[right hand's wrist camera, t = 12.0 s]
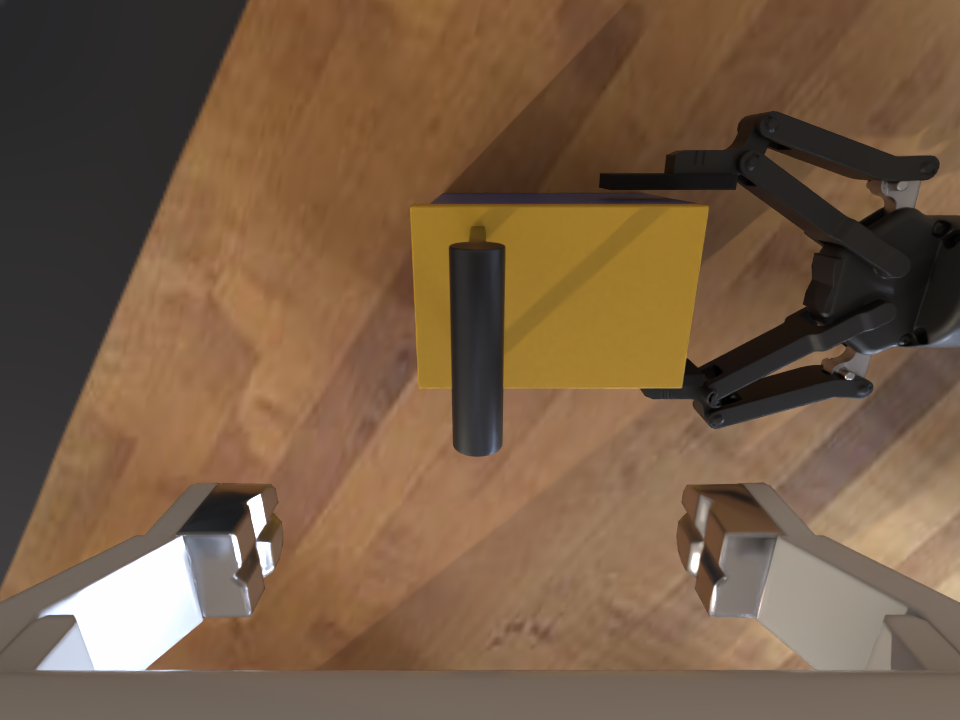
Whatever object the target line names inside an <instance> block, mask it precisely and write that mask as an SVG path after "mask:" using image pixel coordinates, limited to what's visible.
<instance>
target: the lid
mask: <svg viewBox="0 0 960 720" xmlns="http://www.w3.org/2000/svg"><path fill="white" fill-rule="evenodd" d="M708 211H709V206H707V205H702V204H414V205H412V206H410V218H411V240H412V261H413V283H414V304H415V326H416V347H417V368H418V387H419V388H452V421H453V446H454V448H455V449H456V450H457V451H458V452H460V453H462V454H464V455H468V456H476V457H479V456H487V455H491V454H493V453H496V452H497V451H498V450H499V449H500V448H501V446H502V435H503V388H682V384H683V378H684V371H685V364H686V358H687V351H688V344H689V338H690V331H691V324H692V318H693V311H694V304H695V298H696V291H697V284H698V278H699V271H700V265H701V258H702V251H703V245H704V238H705V231H706V225H707V218H708Z"/></svg>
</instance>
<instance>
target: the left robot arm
mask: <svg viewBox="0 0 960 720" xmlns="http://www.w3.org/2000/svg"><path fill="white" fill-rule="evenodd" d="M737 130H738V134H737V136H736V138H735V140H734V142H733V143H732V145H731V146H730V147H728V148H727V149H725V150H683V151H675V152H672V153H670V154H667V155H666V163H665V171H664V173H600V183H599V187H600V188H604V189H609V190H736V185H737V183H739V184H740V185H741V186H743V187H744V188H746V189H747V190H748V191H750V192H751V193H753V194H754V195H755V196H757V197H758V198H759V199H761V200H762V201H764V202H765V203H766V204H768V205H769V206H770V207H772V208H773V209H775V210H776V211H777V212H779V213H780V214H782V215H783V216H784V217H786V218H787V219H788V220H790V221H791V222H793V223H794V224H795V225H797V226H798V227H799V228H801V229H802V230H803V231H804V233H805V234H806V235H807V236H808V237H810V238H811V239H813V240H814V241H815V242H817V243H818V244H819V245H821V246H822V247H823V248H822V249H821V250H820V252H819V253H814V258H813V262H812V280H811V282H810V284H809V286H808V288H807V290H806V293H805V297H804V302H803V305H806V306H807V307H805V308H803V309H801V310H799V311H797V312H795V313H793V314H792V315H790V316H788V317H787V318H786V319H785V322H784V323H783V324H781V325H779V326H777V327H775V328H773V329H772V330H770V331H768V332H766V333H764V334H762V335H760V336H758V337H756V338H754V339H752V340H750V341H749V342H747V343H745V344H743V345H741V346H739V347H737V348H735V349H733V350H731V351H729V352H727V353H726V354H724V355H722V356H720V357H718V358H716V359H714V360H712V361H710V362H708V363H706V364H704V365H703V366H701V367H699V368H697V367H696V366H695V365H694V364H693V363H692V362H691V361H690V360H689V359H688V358H686V364H685V371H684V378H683V384H682V388H640V389H641V391H642V392H643V394H644V395H645V396H646V397H649V398H652V399H694V401H693V407H694V409H695V410H696V411H697V412H698V414H699V415H700V416H701V417H702V418H703V419H704V420H705V422H706V423H707V424H708V425H709V426H710V427H711V428H714V429H718V428H722V427H726V426H730V425H733V424H737V423H741V422H744V421H748V420H752V419H756V418H759V417H763V416H767V415H770V414H774V413H778V412H781V411H785V410H789V409H793V408H796V407H800V406H804V405H807V404H811V403H815V402H818V401H822V400H826V399H830V398H857V399H861V398H865V397H867V396H869V395H870V394H871V393H872V391H873V384H872V383H871V382H870V381H869V380H867V379H865V378H864V377H865V374H866V371H867V368H868V365H869V362H870V359H871V356H872V355H873V354H877V353H879V352H882V351H884V350H886V349H889V348H892V347H960V215H924V214H923V213H921V212H920V211H919V210H917V209H914V208H915V204H916V200H917V196H918V191H919V187H920V183H921V180H928V179H930V178H932V177H933V176H934V175H935V174H936V173H937V171H938V169H939V160H938V159H937V158H936V157H935V156H894V155H891V154H888V153H886V152H883V151H880V150H878V149H875V148H872V147H870V146H867V145H864V144H862V143H859V142H857V141H854V140H851V139H849V138H846V137H843V136H841V135H838V134H835V133H833V132H830V131H827V130H825V129H822V128H819V127H817V126H814V125H811V124H809V123H806V122H804V121H801V120H798V119H796V118H793V117H790V116H788V115H785V114H782V113H780V112H776V111H772V112H766V113H760V114H754V115H749V116H746V117H744V118H743V119H742V120H741V121H740V122H739V124H738V128H737ZM767 148H769V149H772V150H775V151H777V152H780V153H783V154H786V155H788V156H791V157H794V158H797V159H799V160H802V161H805V162H807V163H810V164H813V165H816V166H818V167H821V168H824V169H826V170H829V171H832V172H835V173H837V174H840V175H843V176H846V177H849V178H852V179H859V180H868V181H867V183H866V186H867V188H868V189H870V191H871V193H872V194H874V195H877V196H880V197H882V198H883V200H884V203H885V204H884V207H883V208H881V209H879V210H877V211H876V212H874V213H872V214H871V215H869V216H868V217H866V218H864V219H863V220H861V221H860V222H857V221H856V220H853V219H851V218H848V217H847V216H845V215H844V214H842V213H841V212H840V211H838V210H837V209H836V208H834V207H833V206H832V205H830V204H829V203H828V202H826V201H825V200H824V199H822V198H821V197H820V196H818V195H817V194H816V193H814V192H813V191H812V190H810V189H809V188H808V187H806V186H805V185H804V184H802V183H801V182H800V181H798V180H797V179H795V178H794V177H793V176H791V175H790V174H789V173H787V172H786V171H785V170H783V169H782V168H781V167H779V166H778V165H777V164H775V163H774V162H773V161H771V160H770V159H769V158H767V157H766V156H765V155H764V153H765V151H766V150H767ZM818 324H819V325H820V326H818ZM841 343H842V344H843V345H844V346H846V350H845V351H844V353H843V354H842V355H840V356H838V357H834V358H831V359H829V358H825V359H823V360H822V362H821V365H811V366H805V367H800V368H797V369H793V370H789V371H786V372H782V373H779V374H775V375H772V376H768V377H765V376H767V375H769V374H771V373H773V372H775V371H777V370H779V369H781V368H783V367H784V366H786V365H788V364H790V363H792V362H794V361H796V360H798V359H800V358H802V357H804V356H806V355H808V354H810V353H812V352H816V351H827V350H829V349H831V348H833V347H835V346H837V345H839V344H841ZM763 377H764V378H763Z"/></svg>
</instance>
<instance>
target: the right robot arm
mask: <svg viewBox="0 0 960 720" xmlns="http://www.w3.org/2000/svg"><path fill="white" fill-rule="evenodd" d="M278 503H279V502H278V497H277V493H276V488H275V487H274V486H273V485H272V484H244V483H221V484H220V483H196V484H192V485H190V486H189V487H188V488H187V489H186V490H185V492H184V493H183V494H182V495H181V496H180V497H179V498H178V499H177V500H176V501H175V503H174V504H173V505H172V506H171V507H170V508H169V509H168V510H167V511H166V512H165V514H164V515H163V516H162V517H161V518H160V519H159V520H158V521H157V522H156V523H155V525H154V526H153V527H152V528H151V529H150V530H149V531H148V532H147V533H146V534H145V536H134V537H132V538H130V539H128V540H126V541H124V542H122V543H120V544H118V545H116V546H114V547H112V548H110V549H108V550H106V551H104V552H102V553H100V554H98V555H96V556H94V557H92V558H90V559H88V560H86V561H83V562H81V563H79V564H77V565H75V566H73V567H71V568H69V569H67V570H65V571H63V572H61V573H59V574H57V575H55V576H53V577H51V578H49V579H47V580H45V581H43V582H41V583H39V584H37V585H35V586H33V587H31V588H29V589H27V590H25V591H23V592H21V593H19V594H16V595H14V596H12V597H10V598H8V599H6V600H4V601H2V602H0V720H960V603H959V602H957V601H955V600H953V599H951V598H949V597H947V596H945V595H943V594H941V593H939V592H937V591H935V590H933V589H931V588H929V587H927V586H925V585H923V584H921V583H919V582H917V581H915V580H913V579H911V578H909V577H907V576H905V575H903V574H901V573H899V572H897V571H895V570H893V569H891V568H889V567H886V566H884V565H882V564H880V563H878V562H876V561H874V560H872V559H870V558H868V557H866V556H864V555H862V554H860V553H858V552H856V551H854V550H852V549H850V548H848V547H846V546H844V545H842V544H840V543H838V542H836V541H834V540H832V539H830V538H828V537H826V536H815V534H814V533H813V532H812V531H811V530H810V529H809V528H808V527H807V526H806V525H805V523H804V522H803V521H802V520H801V519H800V518H799V517H798V516H797V515H796V514H795V512H794V511H793V510H792V509H791V508H790V507H789V506H788V505H787V504H786V503H785V501H784V500H783V499H782V498H781V497H780V496H779V495H778V494H777V493H776V492H775V490H774V489H773V488H772V487H771V486H770V485H768V484H765V483H738V484H704V485H686V487H685V489H684V491H683V497H682V502H681V503H682V504H683V506H684V508H685V509H686V511H687V513H686V514H685V515H684V516H683V517H682V518H681V519H680V520H679V521H678V528H677V546H678V552H679V556H680V559H681V562H682V564H683V566H684V568H685V570H686V571H687V572H689V573H690V574H692V575H693V576H694V577H696V578H697V579H696V585H695V590H696V592H697V594H698V596H699V597H700V599H701V601H702V603H703V605H704V607H705V609H706V611H707V613H708V615H709V617H733V618H757V621H758V622H759V623H760V624H762V625H763V626H764V627H765V628H766V629H768V630H769V631H770V632H771V633H772V634H774V635H775V636H776V637H777V638H778V639H780V640H781V641H782V642H783V643H784V644H786V645H787V646H788V647H789V648H790V649H792V650H793V651H794V652H795V653H796V654H798V655H799V656H800V657H801V658H802V659H804V660H805V661H806V662H807V663H808V664H810V665H811V666H812V667H813V668H814V669H816V670H145V669H146V668H147V667H148V666H149V665H151V664H152V663H153V662H154V661H155V660H157V659H158V658H159V657H160V656H161V655H163V654H164V653H165V652H166V651H167V650H169V649H170V648H171V647H172V646H173V645H175V644H176V643H177V642H178V641H179V640H181V639H182V638H183V637H184V636H185V635H187V634H188V633H189V632H190V631H191V630H193V629H194V628H195V627H196V626H197V625H199V624H200V623H201V622H202V621H203V618H226V617H251V615H252V613H253V611H254V609H255V607H256V605H257V603H258V601H259V599H260V597H261V596H262V594H263V592H264V590H265V585H264V579H263V578H264V577H266V576H267V575H268V574H270V573H271V572H273V571H274V570H275V568H276V566H277V564H278V561H279V559H280V555H281V551H282V546H283V527H282V521H281V520H280V519H279V518H278V517H277V516H276V515H275V514H274V513H273V511H274V509H275V508H276V506H277V504H278Z"/></svg>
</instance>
